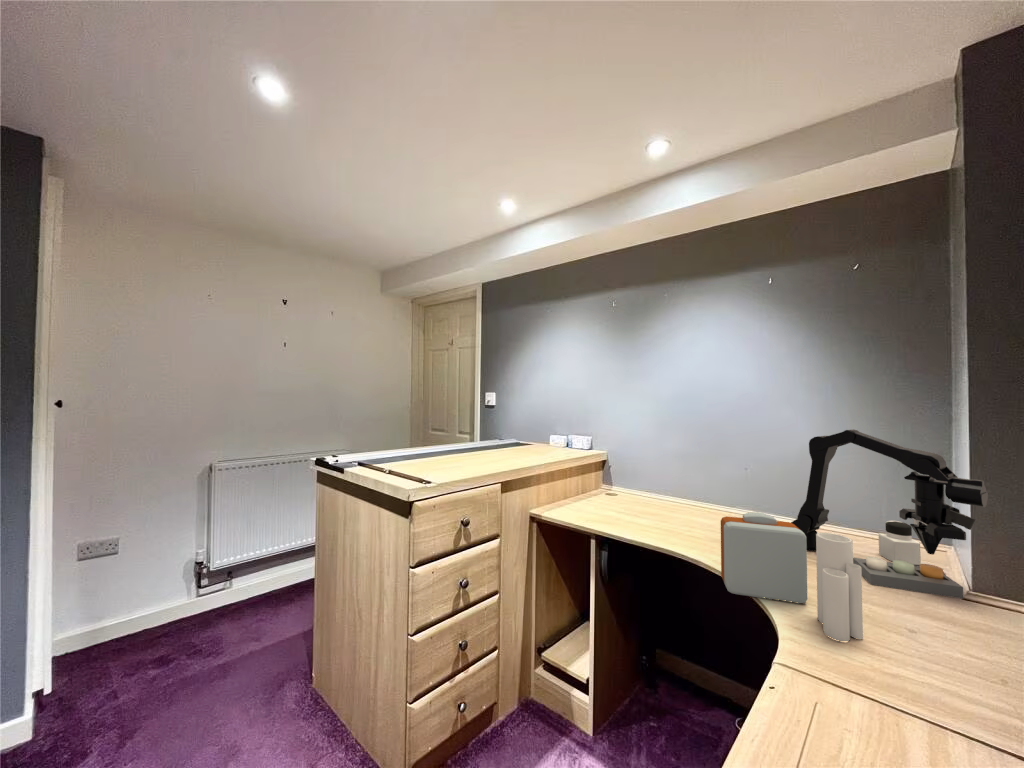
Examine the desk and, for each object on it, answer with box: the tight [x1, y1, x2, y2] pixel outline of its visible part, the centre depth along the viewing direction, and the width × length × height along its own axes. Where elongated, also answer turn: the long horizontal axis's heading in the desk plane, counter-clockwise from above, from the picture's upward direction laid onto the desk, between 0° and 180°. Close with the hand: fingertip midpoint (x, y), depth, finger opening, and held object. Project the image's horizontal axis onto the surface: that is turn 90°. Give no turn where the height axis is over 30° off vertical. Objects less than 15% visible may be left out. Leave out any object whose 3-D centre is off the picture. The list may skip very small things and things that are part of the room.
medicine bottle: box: [877, 520, 922, 566], centre depth 126 cm, size 7×7×12 cm
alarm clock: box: [720, 511, 808, 604], centre depth 106 cm, size 18×9×21 cm, turn 71°
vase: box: [815, 532, 864, 642], centre depth 89 cm, size 11×7×20 cm, turn 153°
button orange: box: [919, 563, 944, 580], centre depth 109 cm, size 4×4×3 cm
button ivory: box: [865, 556, 888, 572], centre depth 114 cm, size 4×4×3 cm
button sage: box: [892, 560, 915, 576], centre depth 111 cm, size 4×4×3 cm
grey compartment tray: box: [853, 557, 964, 599], centre depth 111 cm, size 19×12×3 cm, turn 67°
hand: (930, 553), depth 109 cm, fingers closed
